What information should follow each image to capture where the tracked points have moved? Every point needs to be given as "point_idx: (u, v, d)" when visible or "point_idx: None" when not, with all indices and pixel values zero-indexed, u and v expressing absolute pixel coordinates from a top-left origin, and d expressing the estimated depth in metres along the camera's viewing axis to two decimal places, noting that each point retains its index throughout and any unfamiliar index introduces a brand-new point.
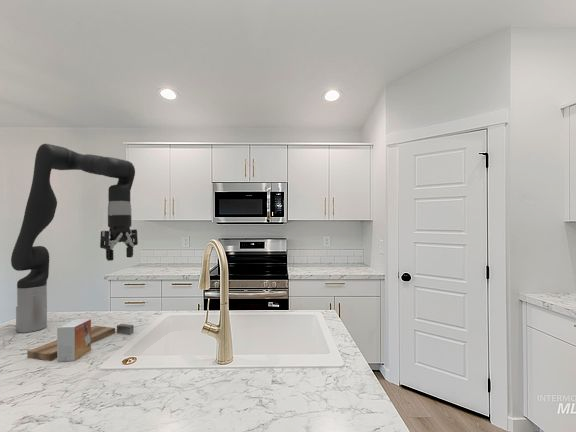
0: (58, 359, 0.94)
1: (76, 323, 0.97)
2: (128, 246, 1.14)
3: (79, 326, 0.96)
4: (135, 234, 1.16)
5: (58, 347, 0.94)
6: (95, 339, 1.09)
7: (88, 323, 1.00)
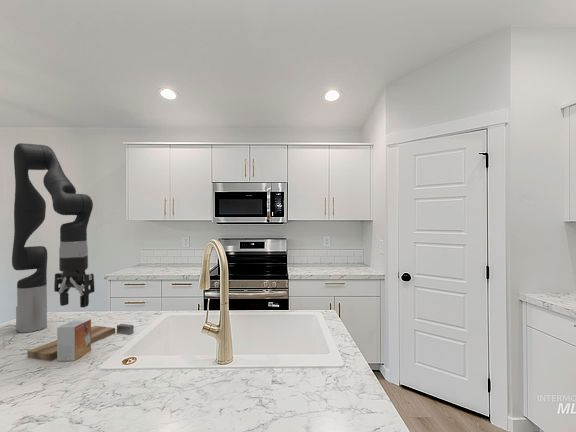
0: (58, 359, 0.94)
1: (76, 323, 0.97)
2: (63, 292, 0.99)
3: (79, 326, 0.96)
4: None
5: (58, 347, 0.94)
6: (95, 339, 1.09)
7: (87, 323, 1.00)
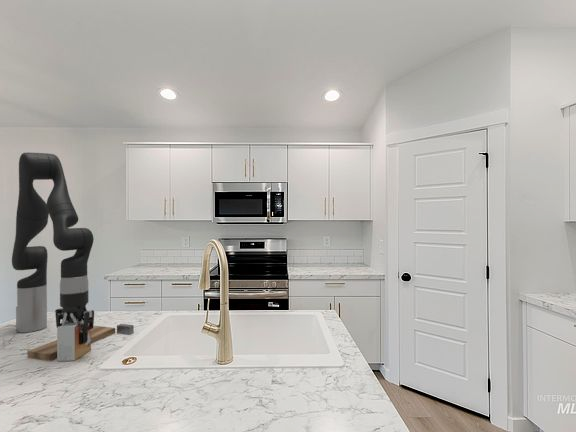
0: (58, 359, 0.94)
1: None
2: None
3: None
4: None
5: (58, 347, 0.94)
6: (95, 339, 1.09)
7: None
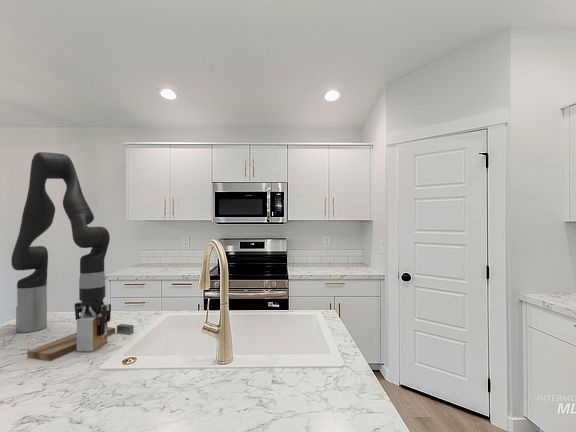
0: (77, 349, 1.00)
1: None
2: None
3: None
4: None
5: (77, 338, 1.00)
6: None
7: None
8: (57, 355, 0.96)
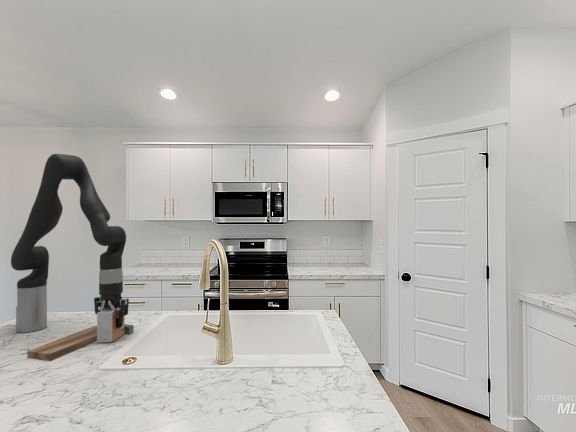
0: (98, 340, 1.07)
1: None
2: None
3: None
4: None
5: (98, 330, 1.07)
6: (95, 339, 1.09)
7: None
8: (57, 355, 0.96)
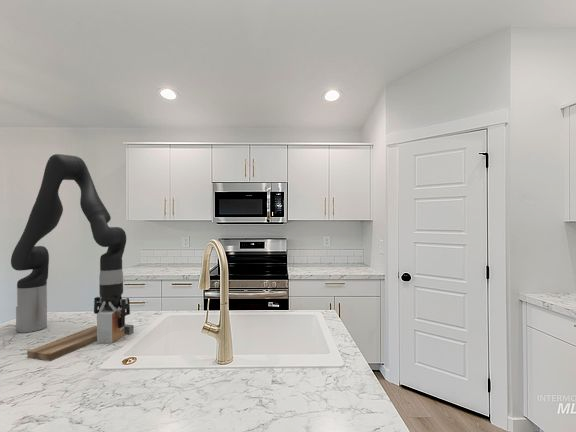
0: (98, 342, 1.07)
1: (112, 311, 1.10)
2: None
3: (115, 313, 1.09)
4: None
5: (98, 331, 1.07)
6: (95, 339, 1.09)
7: None
8: (57, 355, 0.96)
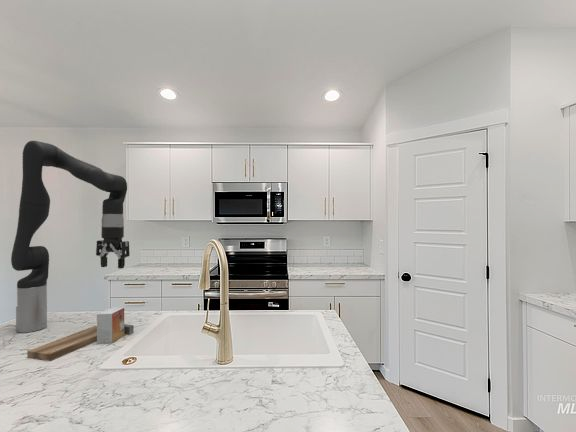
0: (98, 342, 1.07)
1: (112, 311, 1.10)
2: (103, 256, 1.19)
3: (115, 313, 1.09)
4: None
5: (98, 331, 1.07)
6: (95, 339, 1.09)
7: (122, 310, 1.13)
8: (57, 355, 0.96)
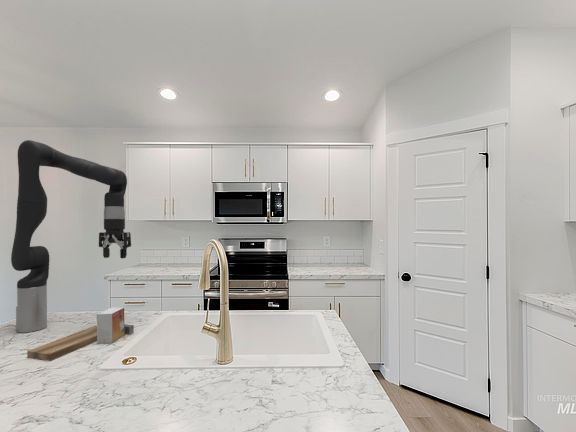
0: (98, 342, 1.07)
1: (112, 311, 1.10)
2: (106, 247, 1.25)
3: (115, 313, 1.09)
4: None
5: (98, 331, 1.07)
6: (95, 339, 1.09)
7: (122, 310, 1.13)
8: (57, 355, 0.96)
